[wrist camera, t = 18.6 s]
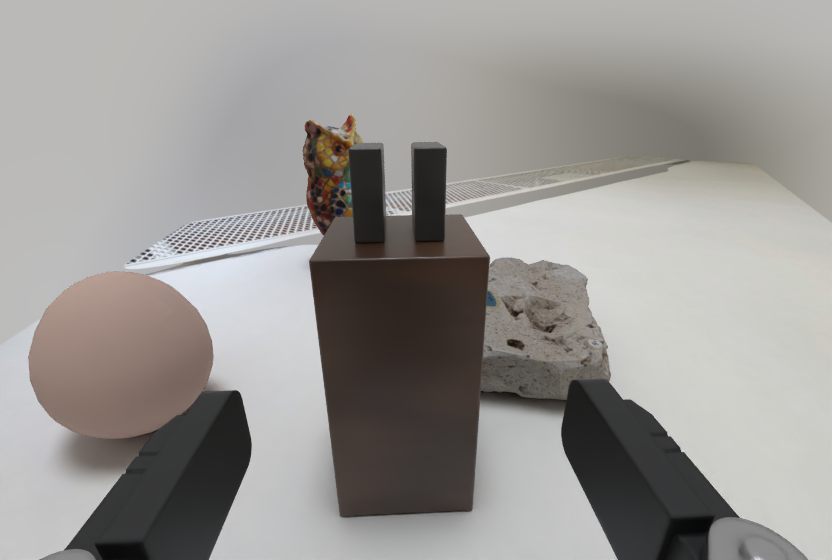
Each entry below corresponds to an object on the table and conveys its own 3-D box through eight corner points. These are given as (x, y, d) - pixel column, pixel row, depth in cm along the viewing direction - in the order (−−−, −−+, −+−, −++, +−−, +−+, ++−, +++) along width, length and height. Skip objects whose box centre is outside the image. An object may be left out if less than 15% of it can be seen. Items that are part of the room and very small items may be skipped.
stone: (626, 394, 18) (422, 331, 21) (592, 465, 21) (420, 401, 24) (626, 255, 28) (487, 227, 31) (603, 317, 31) (480, 286, 34)
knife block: (454, 416, 21) (465, 139, 16) (472, 510, 16) (498, 150, 11) (353, 420, 21) (328, 140, 15) (339, 517, 16) (295, 152, 10)
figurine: (389, 279, 38) (382, 113, 33) (302, 275, 40) (281, 114, 34) (404, 251, 46) (401, 113, 40) (331, 249, 47) (318, 114, 42)
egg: (161, 369, 25) (121, 244, 22) (253, 391, 23) (225, 257, 20) (29, 454, 19) (-54, 297, 16) (139, 495, 17) (71, 324, 14)
